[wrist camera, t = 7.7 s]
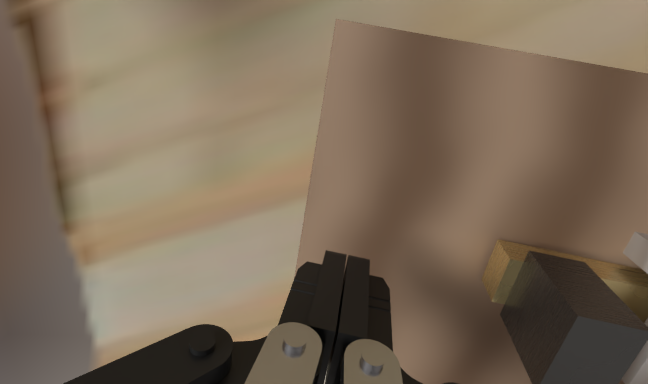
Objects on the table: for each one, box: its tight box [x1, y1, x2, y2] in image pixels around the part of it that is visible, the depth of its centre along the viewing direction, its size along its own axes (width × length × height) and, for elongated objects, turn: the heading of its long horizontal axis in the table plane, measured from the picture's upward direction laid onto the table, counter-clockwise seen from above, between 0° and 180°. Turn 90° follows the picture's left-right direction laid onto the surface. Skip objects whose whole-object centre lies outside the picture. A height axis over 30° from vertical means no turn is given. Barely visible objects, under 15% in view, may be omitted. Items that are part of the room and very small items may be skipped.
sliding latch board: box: [295, 19, 648, 384], centre depth 15 cm, size 26×16×5 cm, turn 81°
